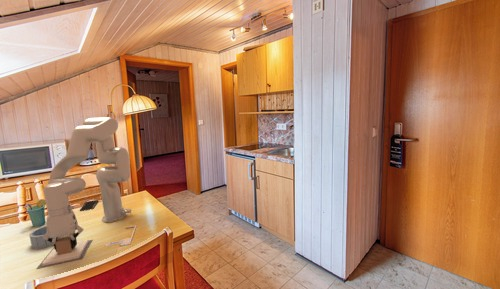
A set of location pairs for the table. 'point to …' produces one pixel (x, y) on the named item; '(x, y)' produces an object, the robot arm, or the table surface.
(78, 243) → the lid
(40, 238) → the bowl
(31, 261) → the table surface
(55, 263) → the mat
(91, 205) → the phone
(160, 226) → the table surface
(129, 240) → the photo frame
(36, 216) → the cup
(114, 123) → the robot arm
